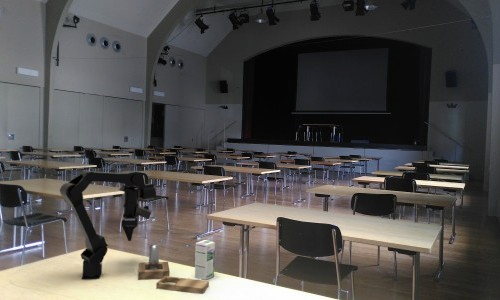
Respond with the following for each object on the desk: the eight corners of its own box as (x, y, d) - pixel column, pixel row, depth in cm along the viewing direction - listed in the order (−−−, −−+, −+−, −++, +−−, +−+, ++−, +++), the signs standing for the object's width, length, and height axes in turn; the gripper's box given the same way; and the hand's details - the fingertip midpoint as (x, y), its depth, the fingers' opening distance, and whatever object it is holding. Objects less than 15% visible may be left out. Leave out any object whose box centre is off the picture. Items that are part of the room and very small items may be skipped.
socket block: (138, 279, 165) (138, 272, 165) (138, 269, 177) (138, 262, 176) (169, 278, 168) (169, 271, 168) (167, 268, 179) (167, 261, 179)
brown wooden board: (156, 288, 157) (156, 283, 157) (164, 281, 165) (164, 275, 165) (202, 293, 154) (202, 288, 153) (208, 286, 161) (208, 281, 161)
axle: (151, 276, 169) (152, 246, 169) (146, 273, 172) (147, 244, 172) (160, 274, 172) (161, 245, 171) (155, 271, 175) (156, 243, 174)
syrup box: (205, 280, 167) (207, 244, 167) (194, 277, 170) (195, 241, 170) (214, 276, 172) (215, 241, 171) (202, 273, 175) (204, 239, 175)
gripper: (151, 205, 169) (149, 243, 170) (150, 197, 187) (149, 232, 188) (122, 205, 166) (121, 244, 167) (124, 197, 184) (123, 232, 185)
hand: (130, 237), depth 177 cm, fingers open, 9 cm apart
